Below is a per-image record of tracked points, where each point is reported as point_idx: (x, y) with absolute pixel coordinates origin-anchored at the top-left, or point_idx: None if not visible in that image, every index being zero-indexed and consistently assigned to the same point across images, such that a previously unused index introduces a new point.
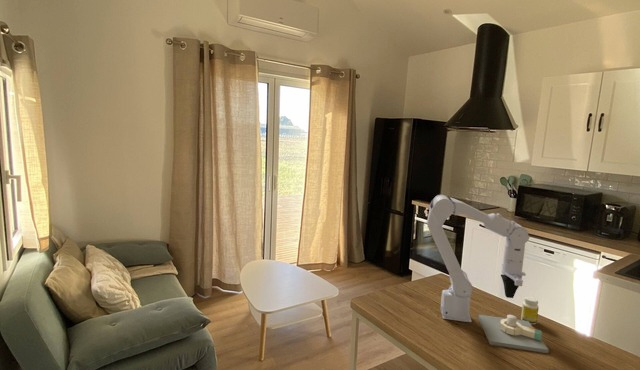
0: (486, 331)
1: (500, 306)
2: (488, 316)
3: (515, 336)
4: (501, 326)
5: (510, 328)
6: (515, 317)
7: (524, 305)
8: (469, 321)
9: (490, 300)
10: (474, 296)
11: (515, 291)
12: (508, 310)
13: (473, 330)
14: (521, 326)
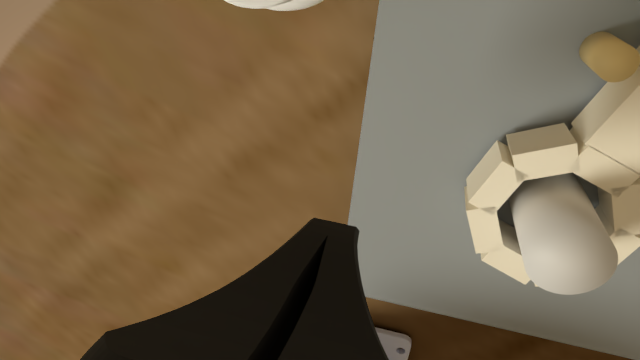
0: (548, 337)
1: (142, 63)
2: None
3: None
4: None
5: (623, 259)
6: (581, 237)
7: (301, 7)
8: (409, 349)
9: (77, 99)
10: (66, 181)
11: (361, 286)
12: (186, 27)
13: (492, 356)
14: (603, 159)
